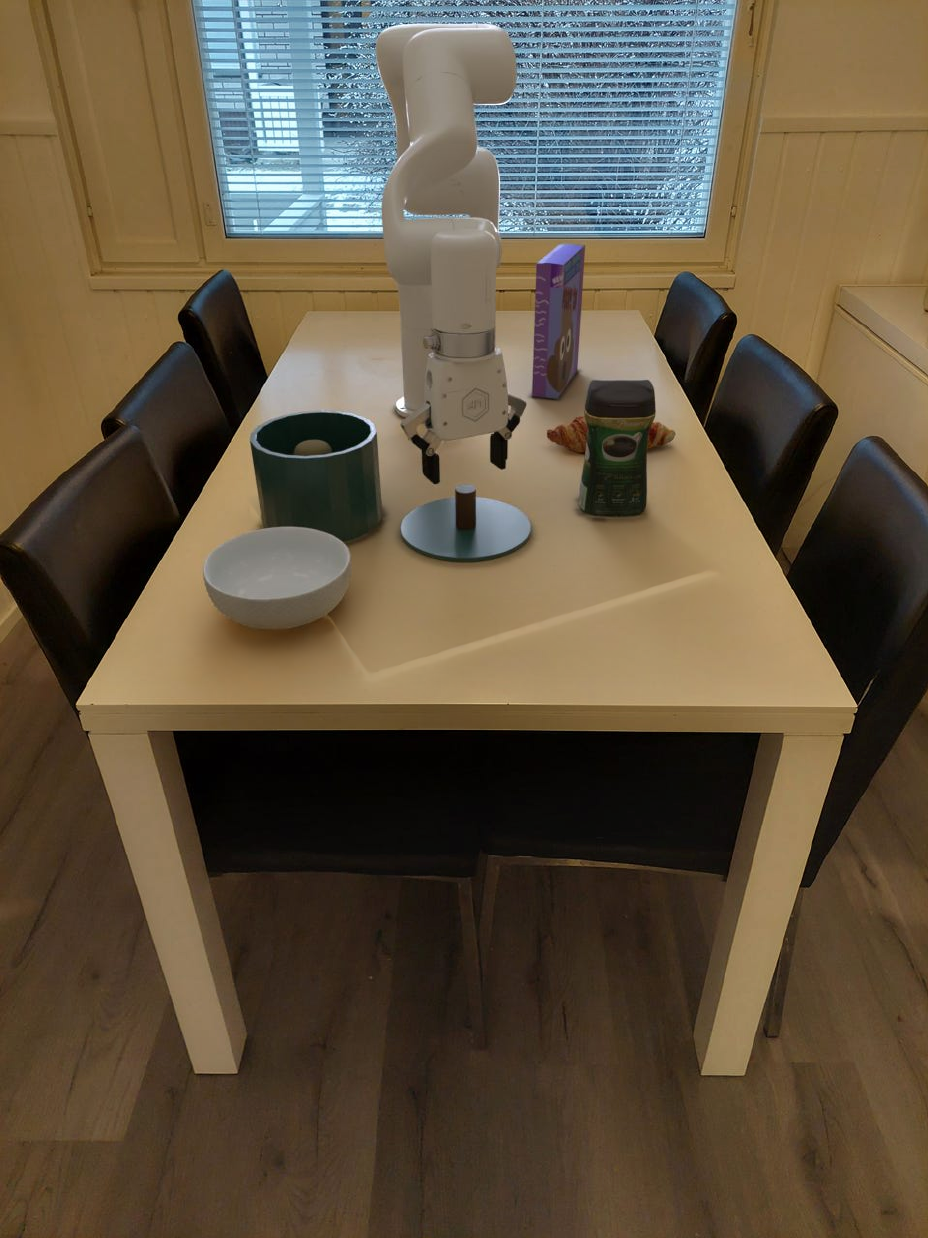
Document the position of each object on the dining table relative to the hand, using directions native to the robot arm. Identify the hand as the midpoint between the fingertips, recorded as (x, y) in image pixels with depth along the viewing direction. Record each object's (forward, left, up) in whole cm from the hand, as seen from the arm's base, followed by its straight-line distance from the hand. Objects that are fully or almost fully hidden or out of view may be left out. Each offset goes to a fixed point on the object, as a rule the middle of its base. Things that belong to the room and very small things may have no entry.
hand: (465, 472), depth 115 cm
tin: (+16, -13, -9) cm, 23 cm away
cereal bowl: (+28, +7, -9) cm, 30 cm away
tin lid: (0, 0, -9) cm, 9 cm away
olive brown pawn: (+16, -14, -9) cm, 23 cm away
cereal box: (-44, -46, -9) cm, 64 cm away
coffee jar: (-22, +3, -9) cm, 24 cm away
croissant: (-35, -15, -9) cm, 39 cm away
